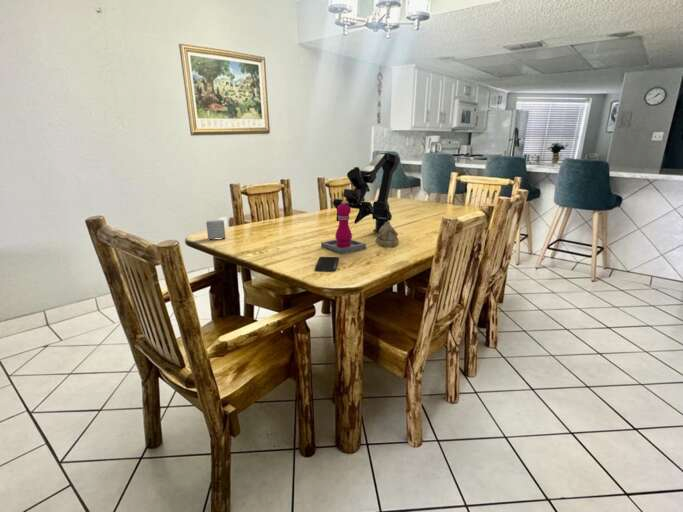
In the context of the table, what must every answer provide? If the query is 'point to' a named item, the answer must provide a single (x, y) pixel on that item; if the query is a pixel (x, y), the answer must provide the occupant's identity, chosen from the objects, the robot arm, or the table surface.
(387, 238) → the ceramic model
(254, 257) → the table surface
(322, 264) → the phone
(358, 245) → the grey tray
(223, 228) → the medicine box
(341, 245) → the pepper mill
